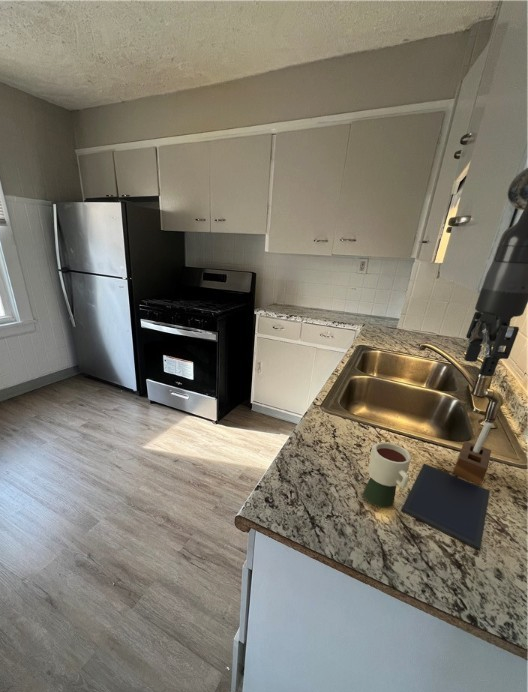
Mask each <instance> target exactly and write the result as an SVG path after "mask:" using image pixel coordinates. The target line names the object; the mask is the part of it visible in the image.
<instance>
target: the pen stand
mask: <svg viewBox="0 0 528 692" xmlns="http://www.w3.org/2000/svg"><path fill="white" fill-rule="evenodd" d="M475 444H476V443H472V442H469V441H466V440H464V441H463V444H462V447H461V449H460V451H459V453H458V456H457V459H456V462H455V465H454V468H453V470H452V473H451V475H453V476H456V477H458V478H461V479H463V480H465V481H468V482H470V483H473V484H475V485H478V486H481V484H482V482H483V480H484V479H485V476H486V474H487V472H488V469H489V464H490V459H491V454H492V449H490V448H486V447H484V446H482V448H481V450H480V452H479V454H478V453H475V452H473V449H474V446H475Z"/></svg>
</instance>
